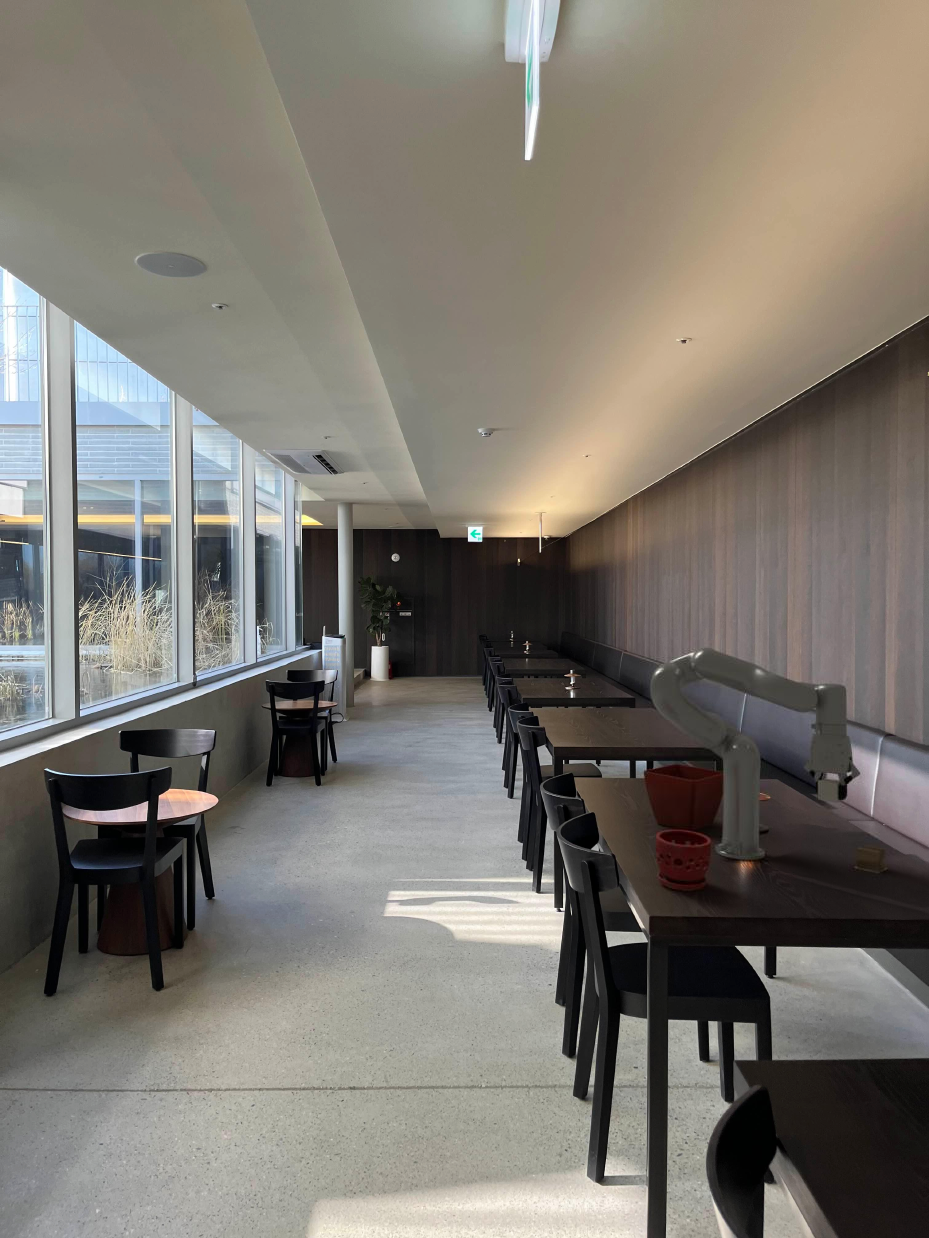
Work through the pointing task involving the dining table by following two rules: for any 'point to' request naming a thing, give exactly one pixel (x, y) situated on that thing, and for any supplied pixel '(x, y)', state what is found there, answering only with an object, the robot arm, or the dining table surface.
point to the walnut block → (871, 858)
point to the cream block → (828, 790)
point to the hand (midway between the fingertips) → (831, 796)
